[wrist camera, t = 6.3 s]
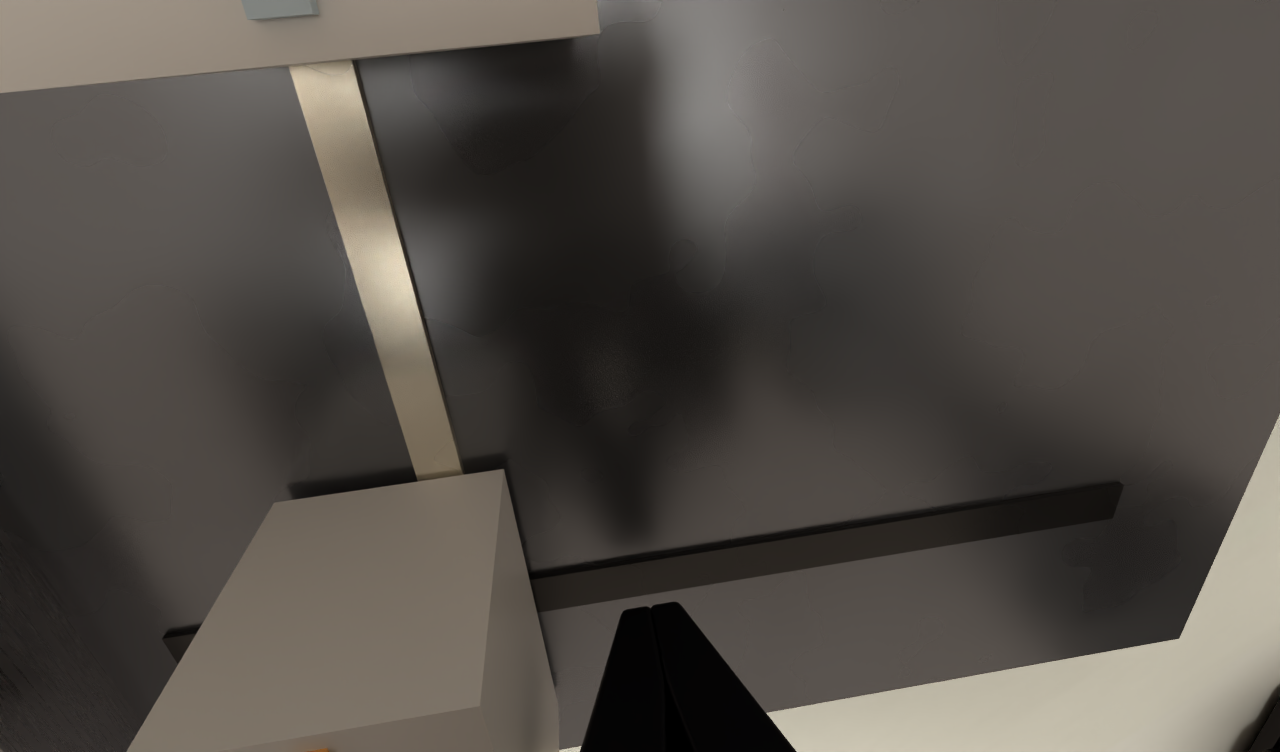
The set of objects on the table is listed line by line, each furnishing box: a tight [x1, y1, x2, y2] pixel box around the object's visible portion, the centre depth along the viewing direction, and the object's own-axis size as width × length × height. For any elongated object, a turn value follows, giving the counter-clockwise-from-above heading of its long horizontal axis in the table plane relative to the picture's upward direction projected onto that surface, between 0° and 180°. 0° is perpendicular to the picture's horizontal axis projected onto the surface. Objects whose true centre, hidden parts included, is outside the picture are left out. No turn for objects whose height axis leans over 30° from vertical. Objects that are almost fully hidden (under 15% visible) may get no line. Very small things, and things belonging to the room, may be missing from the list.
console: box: [0, 0, 1280, 752], centre depth 8 cm, size 20×18×4 cm
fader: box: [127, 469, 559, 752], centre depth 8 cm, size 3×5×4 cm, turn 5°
